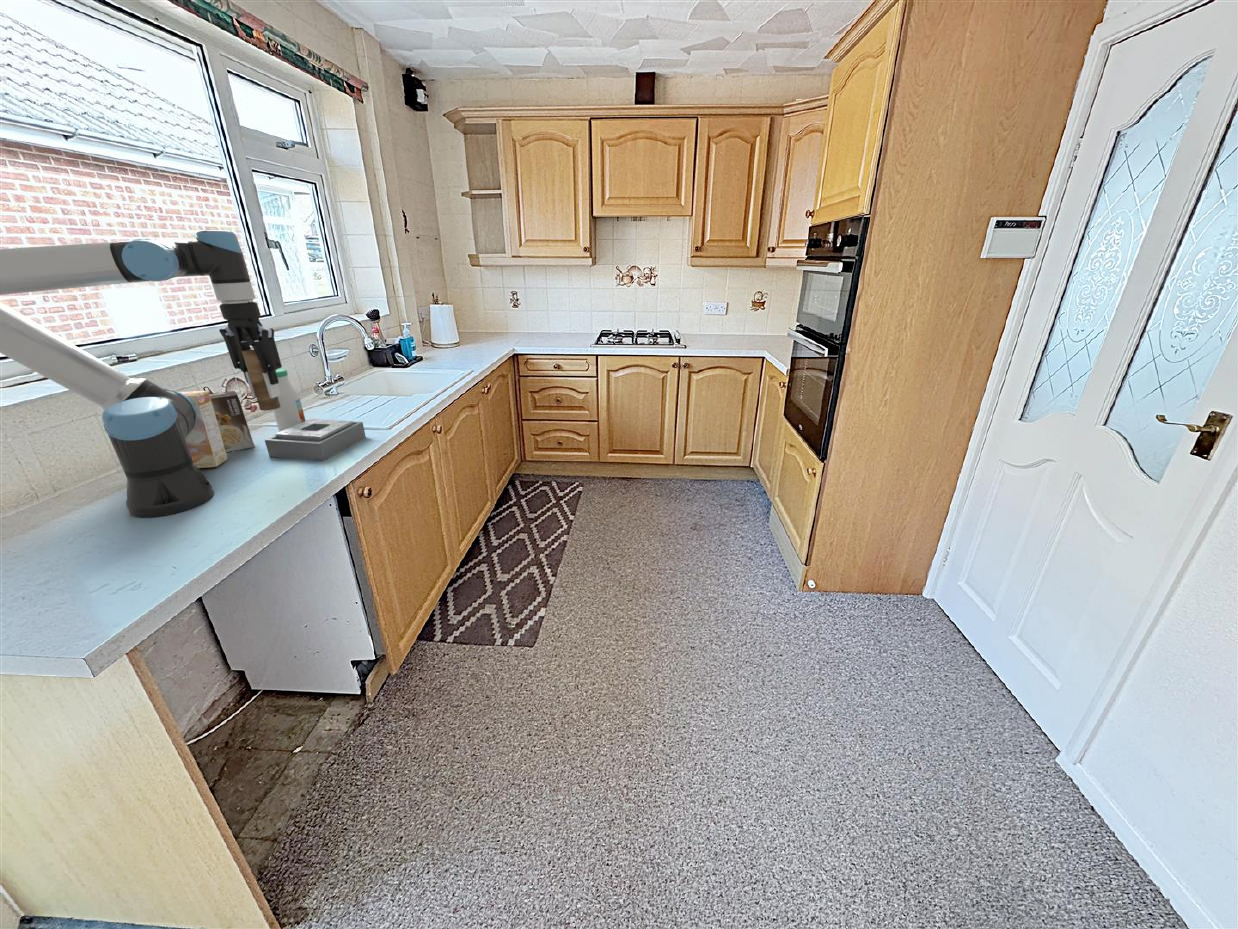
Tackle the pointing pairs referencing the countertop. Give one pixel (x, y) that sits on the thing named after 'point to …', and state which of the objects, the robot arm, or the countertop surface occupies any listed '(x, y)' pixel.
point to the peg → (259, 381)
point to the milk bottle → (287, 403)
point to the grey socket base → (316, 444)
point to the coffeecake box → (205, 433)
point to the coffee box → (231, 421)
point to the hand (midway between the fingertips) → (267, 396)
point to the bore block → (313, 430)
